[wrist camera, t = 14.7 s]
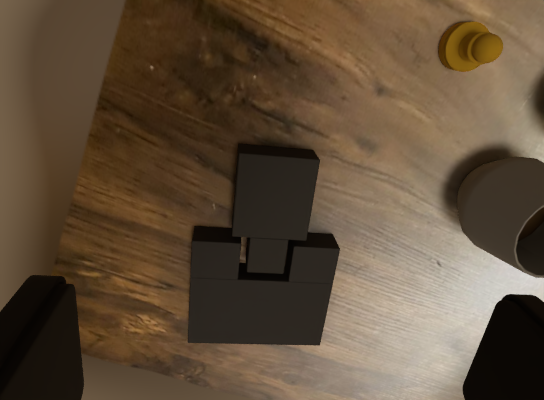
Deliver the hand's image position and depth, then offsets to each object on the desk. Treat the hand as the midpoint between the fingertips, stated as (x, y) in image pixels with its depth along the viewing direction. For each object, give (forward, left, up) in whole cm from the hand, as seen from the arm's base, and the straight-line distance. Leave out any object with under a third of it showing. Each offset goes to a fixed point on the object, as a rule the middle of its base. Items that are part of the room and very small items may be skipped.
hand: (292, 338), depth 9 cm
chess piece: (+18, +7, -28) cm, 34 cm away
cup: (+25, -6, -28) cm, 38 cm away
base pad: (+3, -18, -28) cm, 34 cm away
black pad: (+3, -9, -28) cm, 30 cm away
